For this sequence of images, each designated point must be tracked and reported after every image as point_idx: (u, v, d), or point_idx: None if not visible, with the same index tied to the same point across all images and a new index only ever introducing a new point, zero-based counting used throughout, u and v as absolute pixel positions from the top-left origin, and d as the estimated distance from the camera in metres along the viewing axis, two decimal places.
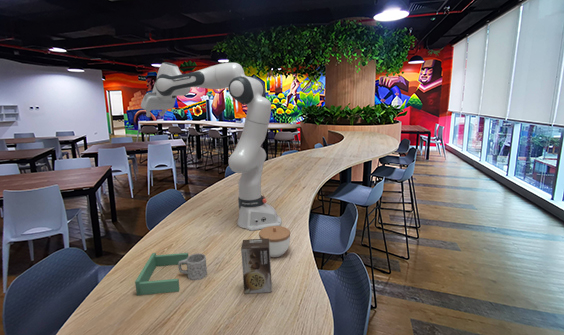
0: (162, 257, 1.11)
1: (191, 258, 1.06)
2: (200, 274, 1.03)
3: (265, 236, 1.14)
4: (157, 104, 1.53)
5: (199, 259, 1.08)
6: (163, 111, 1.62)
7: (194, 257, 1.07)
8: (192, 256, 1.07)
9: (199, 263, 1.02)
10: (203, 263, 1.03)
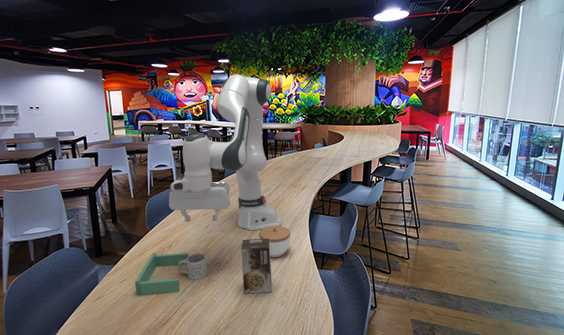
0: (162, 257, 1.11)
1: (191, 258, 1.06)
2: (200, 274, 1.03)
3: (265, 236, 1.14)
4: None
5: (199, 259, 1.08)
6: (185, 213, 1.02)
7: (194, 257, 1.07)
8: (192, 256, 1.07)
9: (199, 263, 1.02)
10: (203, 263, 1.03)
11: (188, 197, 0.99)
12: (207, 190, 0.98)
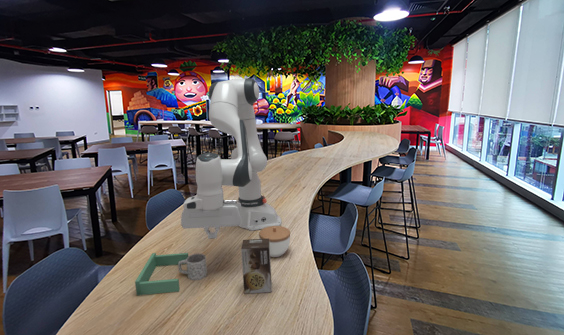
0: (162, 257, 1.11)
1: (191, 258, 1.06)
2: (200, 274, 1.03)
3: (265, 236, 1.14)
4: None
5: (199, 259, 1.08)
6: (208, 231, 1.03)
7: (194, 257, 1.07)
8: (192, 256, 1.07)
9: (199, 263, 1.02)
10: (203, 263, 1.03)
11: (200, 215, 1.00)
12: (219, 208, 1.00)
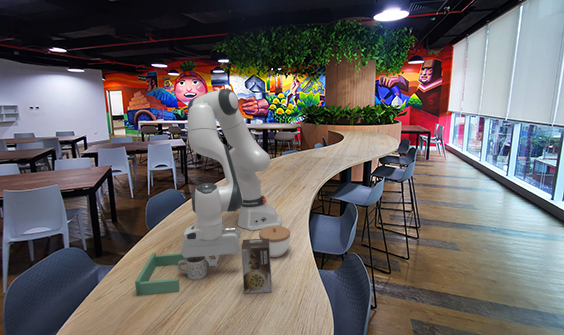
0: (162, 257, 1.11)
1: (191, 258, 1.06)
2: (200, 274, 1.03)
3: (265, 236, 1.14)
4: None
5: (199, 259, 1.08)
6: (209, 258, 1.05)
7: (194, 257, 1.07)
8: None
9: (199, 263, 1.02)
10: (203, 263, 1.03)
11: (200, 245, 1.02)
12: (219, 237, 1.02)
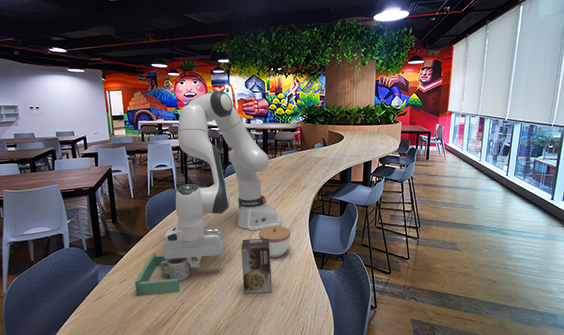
0: (162, 257, 1.11)
1: (174, 259, 1.06)
2: (181, 275, 1.02)
3: (265, 236, 1.14)
4: None
5: (182, 260, 1.07)
6: (191, 260, 1.04)
7: (177, 258, 1.06)
8: None
9: (180, 264, 1.01)
10: (184, 264, 1.02)
11: (182, 246, 1.01)
12: (201, 238, 1.01)
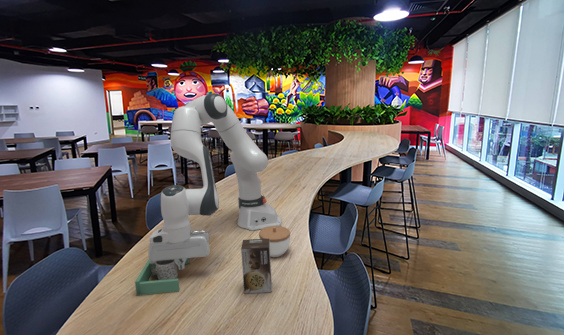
0: None
1: None
2: (167, 277, 1.01)
3: (265, 236, 1.14)
4: None
5: (171, 261, 1.06)
6: (179, 261, 1.04)
7: None
8: None
9: (167, 265, 1.01)
10: (171, 266, 1.02)
11: (168, 248, 1.00)
12: (187, 240, 1.00)
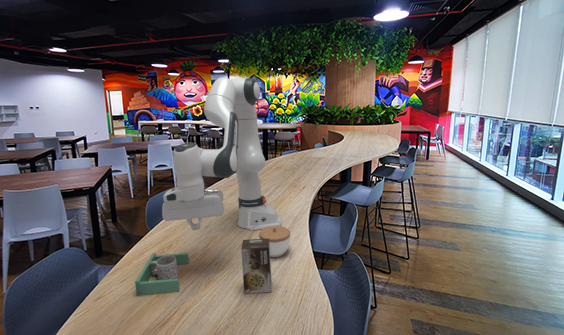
0: None
1: (163, 259, 1.06)
2: (168, 277, 1.02)
3: (265, 236, 1.14)
4: None
5: (171, 261, 1.07)
6: (191, 222, 1.02)
7: (166, 259, 1.06)
8: (164, 258, 1.06)
9: (167, 265, 1.01)
10: (171, 266, 1.02)
11: (181, 207, 0.98)
12: (201, 199, 0.98)
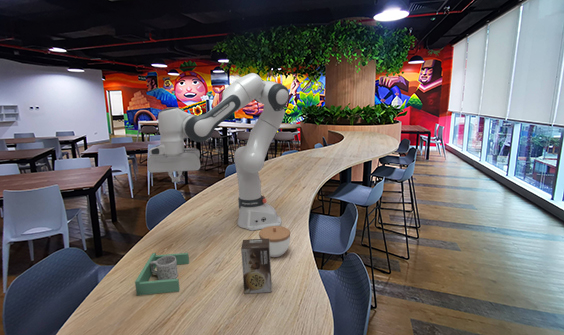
0: None
1: (163, 259, 1.06)
2: (168, 277, 1.02)
3: (265, 236, 1.14)
4: None
5: (171, 261, 1.07)
6: (172, 175, 1.20)
7: (166, 259, 1.06)
8: (164, 258, 1.06)
9: (167, 265, 1.01)
10: (171, 266, 1.02)
11: (164, 161, 1.17)
12: (180, 154, 1.17)
